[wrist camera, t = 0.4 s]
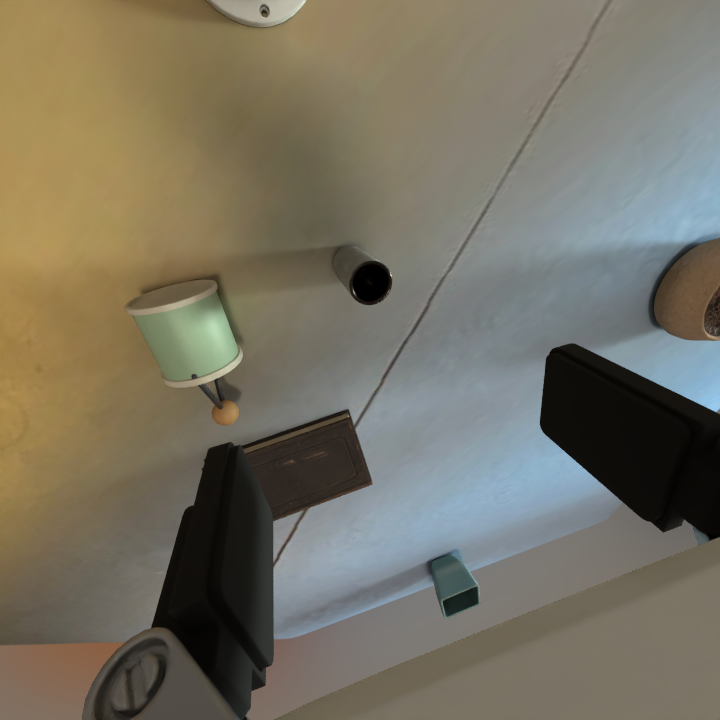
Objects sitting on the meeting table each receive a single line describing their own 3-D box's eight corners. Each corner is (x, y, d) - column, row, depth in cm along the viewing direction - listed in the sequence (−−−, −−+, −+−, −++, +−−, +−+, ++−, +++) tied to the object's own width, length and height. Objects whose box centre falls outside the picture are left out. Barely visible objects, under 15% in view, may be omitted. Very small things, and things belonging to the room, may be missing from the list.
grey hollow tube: (340, 287, 44) (358, 312, 35) (326, 254, 41) (342, 272, 33) (372, 272, 44) (398, 294, 35) (360, 239, 42) (384, 253, 33)
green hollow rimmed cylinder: (141, 291, 38) (108, 317, 31) (221, 274, 40) (208, 295, 32) (200, 411, 47) (186, 456, 39) (264, 394, 48) (263, 434, 40)
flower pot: (461, 565, 82) (481, 604, 74) (427, 578, 81) (444, 620, 73) (458, 545, 78) (479, 584, 70) (423, 558, 77) (440, 600, 69)
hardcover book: (204, 459, 51) (201, 470, 49) (348, 409, 53) (351, 417, 51) (246, 522, 59) (245, 533, 57) (370, 476, 61) (373, 486, 59)
